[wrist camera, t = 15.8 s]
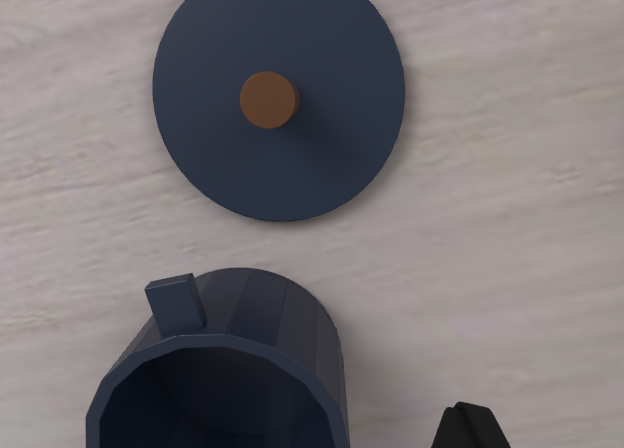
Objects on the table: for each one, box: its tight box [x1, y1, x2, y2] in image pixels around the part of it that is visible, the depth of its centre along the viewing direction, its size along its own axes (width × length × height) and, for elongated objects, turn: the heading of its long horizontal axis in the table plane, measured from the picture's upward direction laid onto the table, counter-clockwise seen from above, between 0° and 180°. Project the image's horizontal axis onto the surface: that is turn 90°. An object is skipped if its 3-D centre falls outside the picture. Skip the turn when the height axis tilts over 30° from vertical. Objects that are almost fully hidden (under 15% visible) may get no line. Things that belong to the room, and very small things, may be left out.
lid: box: [153, 0, 405, 221], centre depth 26 cm, size 16×16×7 cm
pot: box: [86, 268, 350, 448], centre depth 30 cm, size 15×20×10 cm
